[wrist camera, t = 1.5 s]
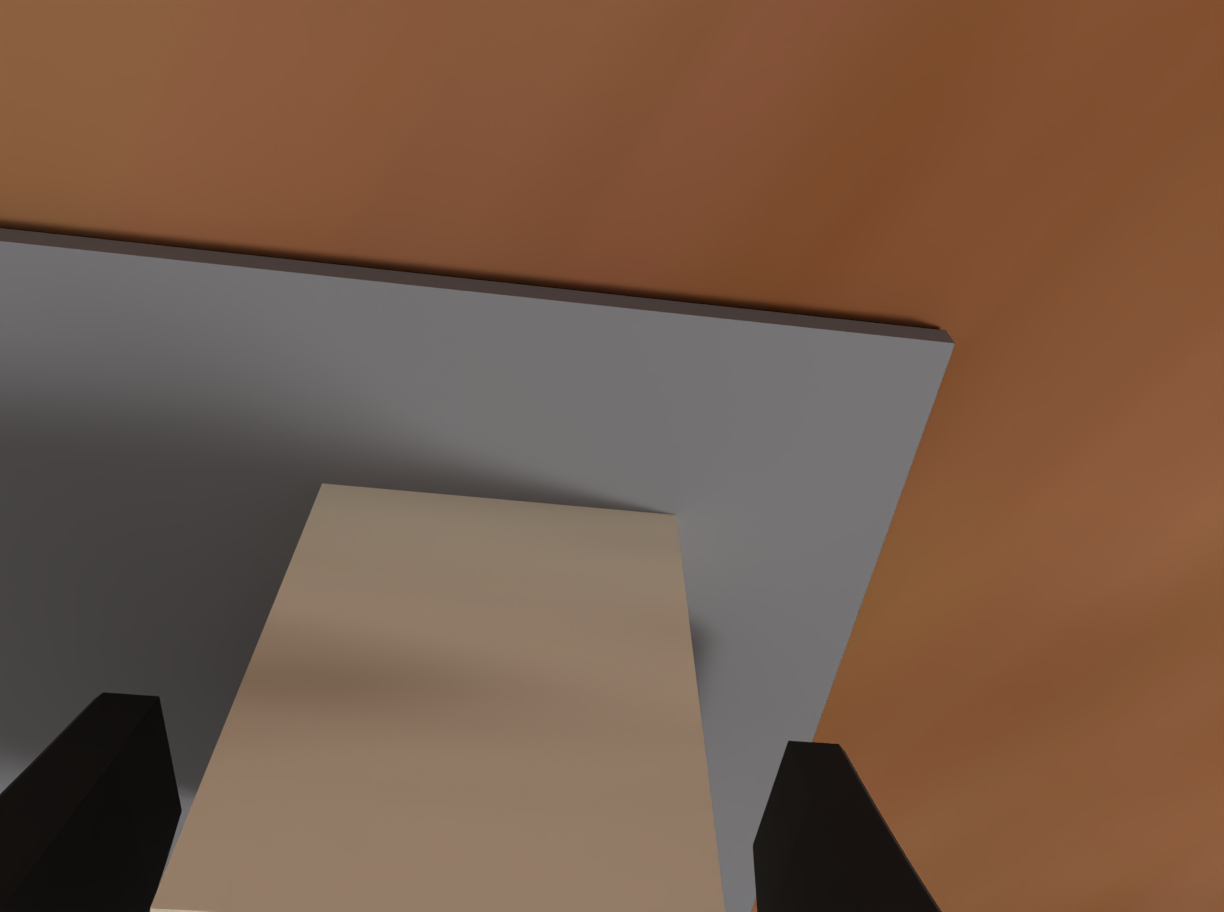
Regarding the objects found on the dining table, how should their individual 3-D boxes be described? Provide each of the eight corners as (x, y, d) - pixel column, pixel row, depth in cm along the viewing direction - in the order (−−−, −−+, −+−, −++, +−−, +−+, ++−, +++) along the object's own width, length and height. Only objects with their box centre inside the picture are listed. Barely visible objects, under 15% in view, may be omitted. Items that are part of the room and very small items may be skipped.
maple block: (611, 834, 14) (619, 1250, 10) (338, 817, 14) (231, 1241, 10) (676, 515, 11) (728, 939, 7) (322, 483, 11) (149, 908, 6)
